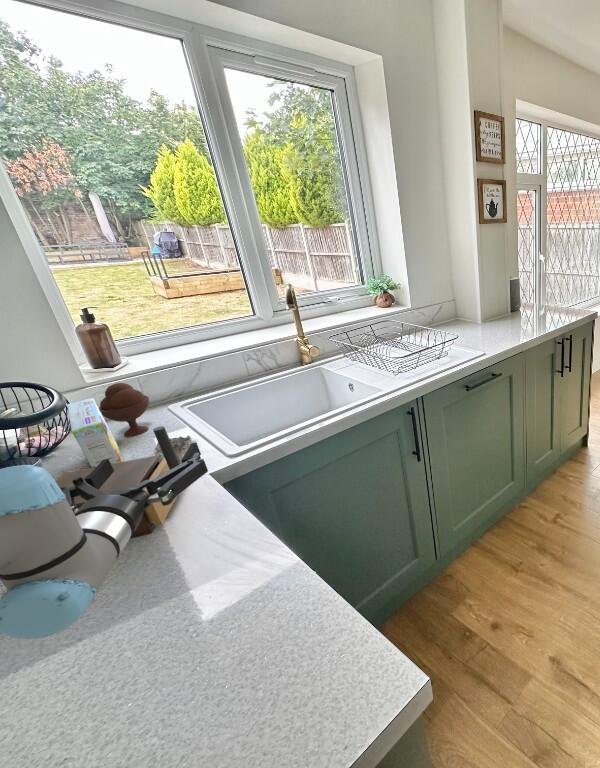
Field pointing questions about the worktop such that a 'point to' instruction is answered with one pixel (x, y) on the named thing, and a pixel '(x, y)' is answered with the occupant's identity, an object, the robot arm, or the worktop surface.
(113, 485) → the storage box
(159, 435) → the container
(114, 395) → the ice cream bowl
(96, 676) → the worktop surface
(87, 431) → the snack box
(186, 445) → the grey rock
